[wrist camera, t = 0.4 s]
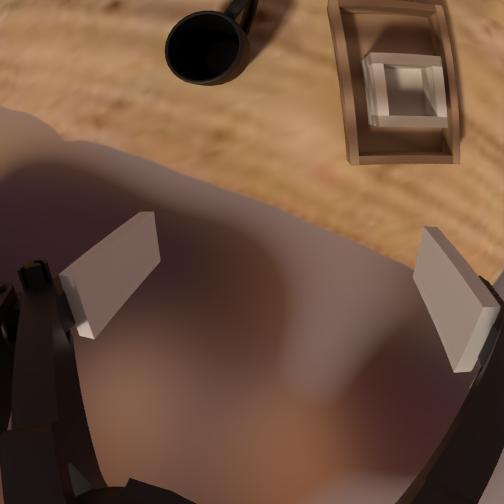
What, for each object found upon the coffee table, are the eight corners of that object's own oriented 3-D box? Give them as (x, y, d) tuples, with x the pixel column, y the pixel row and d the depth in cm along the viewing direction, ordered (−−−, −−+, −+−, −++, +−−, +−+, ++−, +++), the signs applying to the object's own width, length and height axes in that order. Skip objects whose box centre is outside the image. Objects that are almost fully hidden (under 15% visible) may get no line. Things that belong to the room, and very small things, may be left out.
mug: (291, 31, 32) (285, 9, 24) (231, 101, 37) (208, 99, 29) (240, -2, 31) (220, -29, 22) (183, 66, 36) (149, 58, 28)
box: (326, 9, 30) (329, -10, 24) (431, 13, 27) (451, -1, 21) (346, 160, 38) (354, 170, 32) (447, 158, 35) (470, 169, 29)
